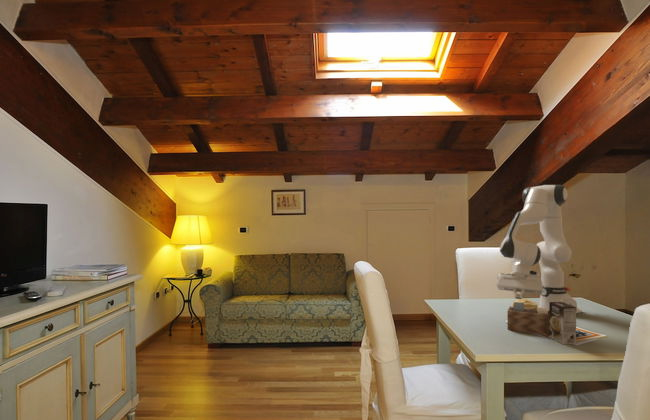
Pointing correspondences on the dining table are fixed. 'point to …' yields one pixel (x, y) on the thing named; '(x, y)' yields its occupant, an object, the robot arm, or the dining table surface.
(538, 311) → the white key
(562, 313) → the coffee box
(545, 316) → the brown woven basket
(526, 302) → the sculpture
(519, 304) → the blue key
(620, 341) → the dining table surface
